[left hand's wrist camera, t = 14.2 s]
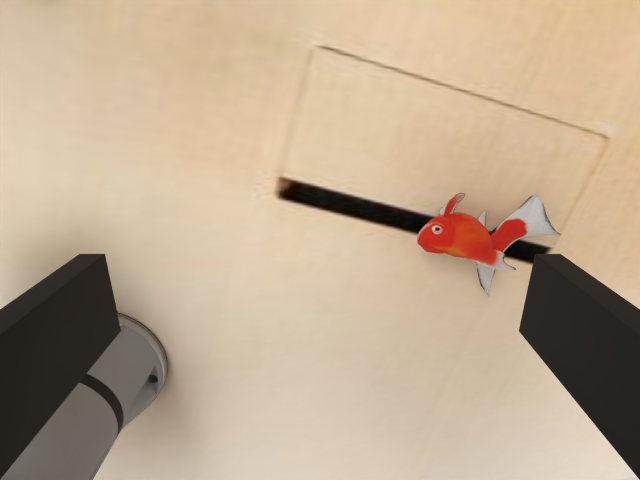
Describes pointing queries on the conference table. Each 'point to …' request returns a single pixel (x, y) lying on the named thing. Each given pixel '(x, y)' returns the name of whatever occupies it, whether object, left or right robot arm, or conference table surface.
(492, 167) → the conference table surface
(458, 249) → the fish
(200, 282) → the conference table surface
